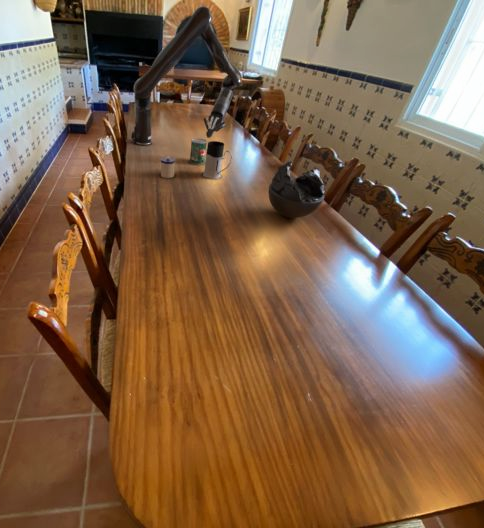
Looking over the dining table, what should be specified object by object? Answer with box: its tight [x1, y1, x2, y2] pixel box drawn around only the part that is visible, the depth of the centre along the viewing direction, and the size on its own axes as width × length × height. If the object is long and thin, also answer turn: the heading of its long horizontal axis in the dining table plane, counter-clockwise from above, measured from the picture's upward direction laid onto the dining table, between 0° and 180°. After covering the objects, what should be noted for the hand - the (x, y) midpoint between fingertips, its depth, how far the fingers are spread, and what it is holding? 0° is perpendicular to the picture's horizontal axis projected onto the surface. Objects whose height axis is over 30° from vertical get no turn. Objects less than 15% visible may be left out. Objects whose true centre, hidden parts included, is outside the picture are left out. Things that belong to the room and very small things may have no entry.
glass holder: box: [202, 140, 233, 180], centre depth 138 cm, size 9×14×15 cm, turn 44°
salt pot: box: [160, 155, 176, 179], centre depth 139 cm, size 7×7×9 cm
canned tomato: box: [189, 138, 208, 166], centre depth 154 cm, size 8×8×11 cm
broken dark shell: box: [267, 161, 325, 219], centre depth 111 cm, size 20×20×19 cm
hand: (208, 136), depth 158 cm, fingers closed
